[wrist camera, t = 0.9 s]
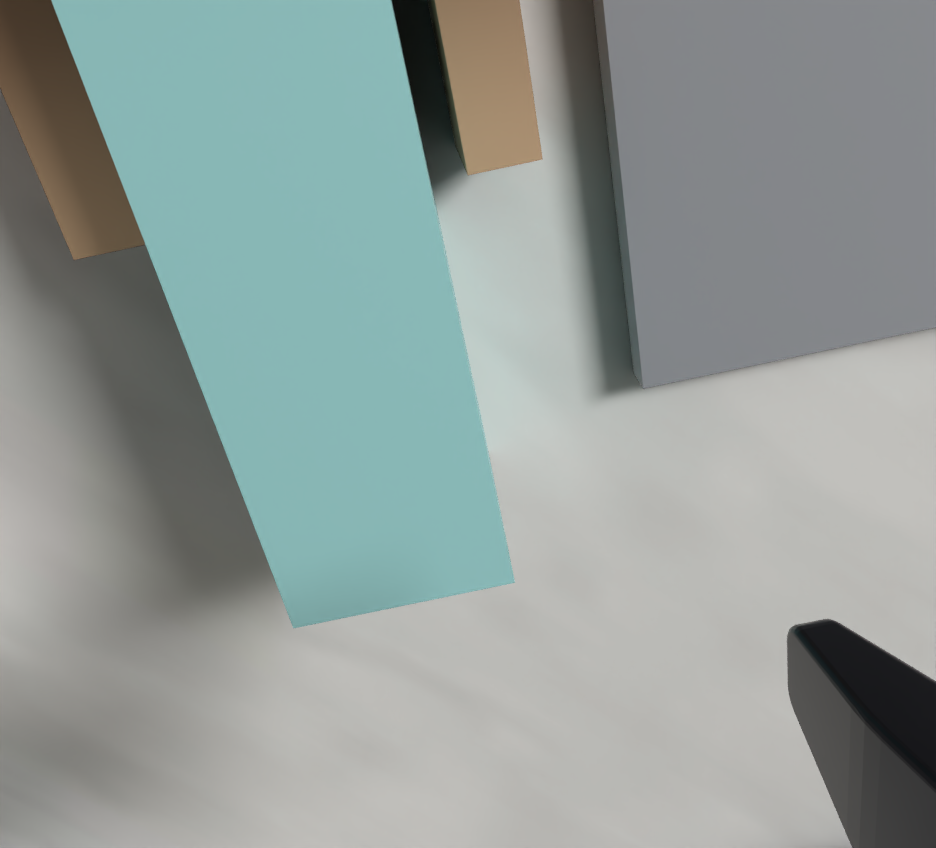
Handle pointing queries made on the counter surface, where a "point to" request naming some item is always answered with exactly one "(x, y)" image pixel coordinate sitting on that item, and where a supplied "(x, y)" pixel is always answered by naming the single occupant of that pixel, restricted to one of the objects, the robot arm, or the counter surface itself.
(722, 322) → the coaster
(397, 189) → the block
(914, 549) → the counter surface
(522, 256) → the counter surface
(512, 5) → the bay
